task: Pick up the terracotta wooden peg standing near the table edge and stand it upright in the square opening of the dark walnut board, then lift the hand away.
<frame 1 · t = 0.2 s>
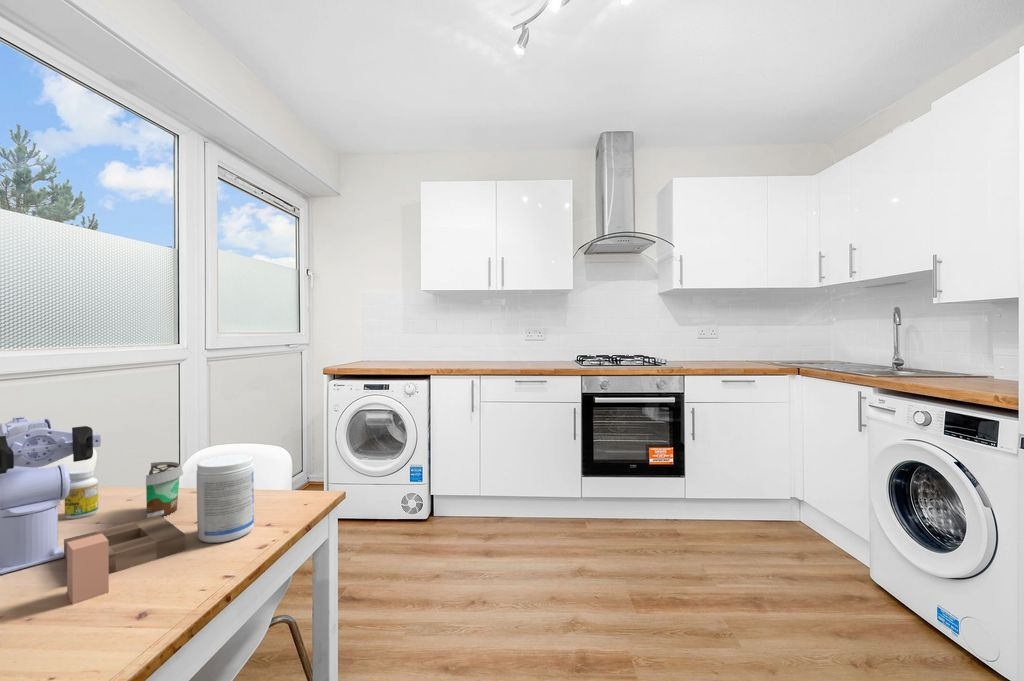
hand: (48, 455, 68), 21 cm above the table, tool horizontal, fingers open, 7 cm apart
walnut stand board: (125, 553, 82), on the table
supplement bottle: (81, 515, 100), on the table
food container: (166, 512, 102), on the table
terracotta peg: (88, 593, 70), on the table
supplement tub: (226, 534, 91), on the table
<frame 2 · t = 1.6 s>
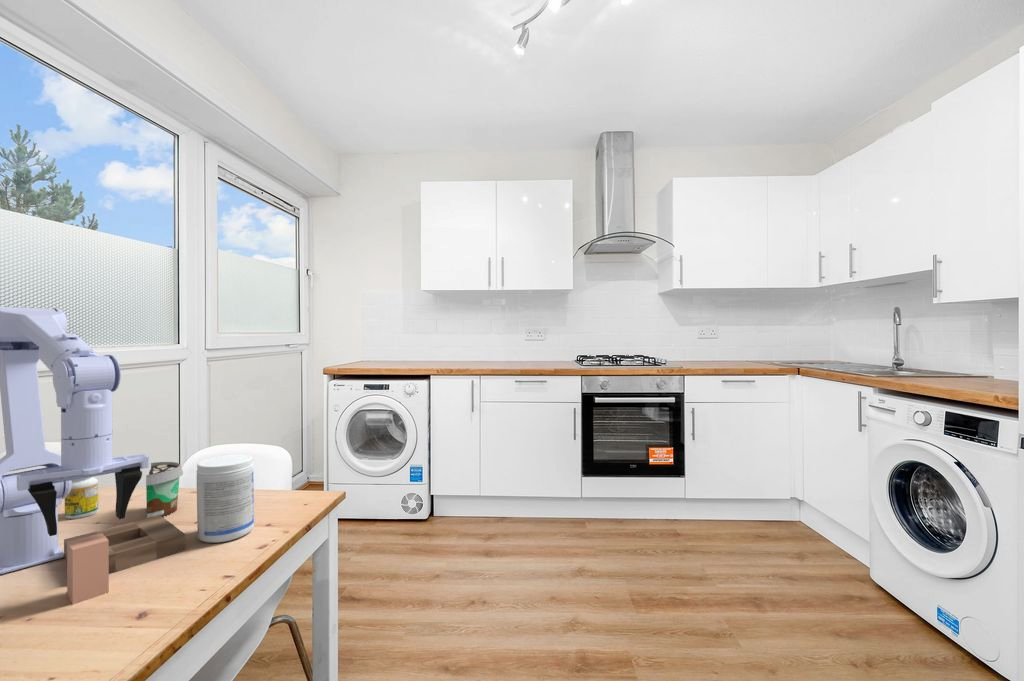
hand: (87, 525, 69), 10 cm above the table, tool pointing down, fingers open, 7 cm apart
nothing on the table moved.
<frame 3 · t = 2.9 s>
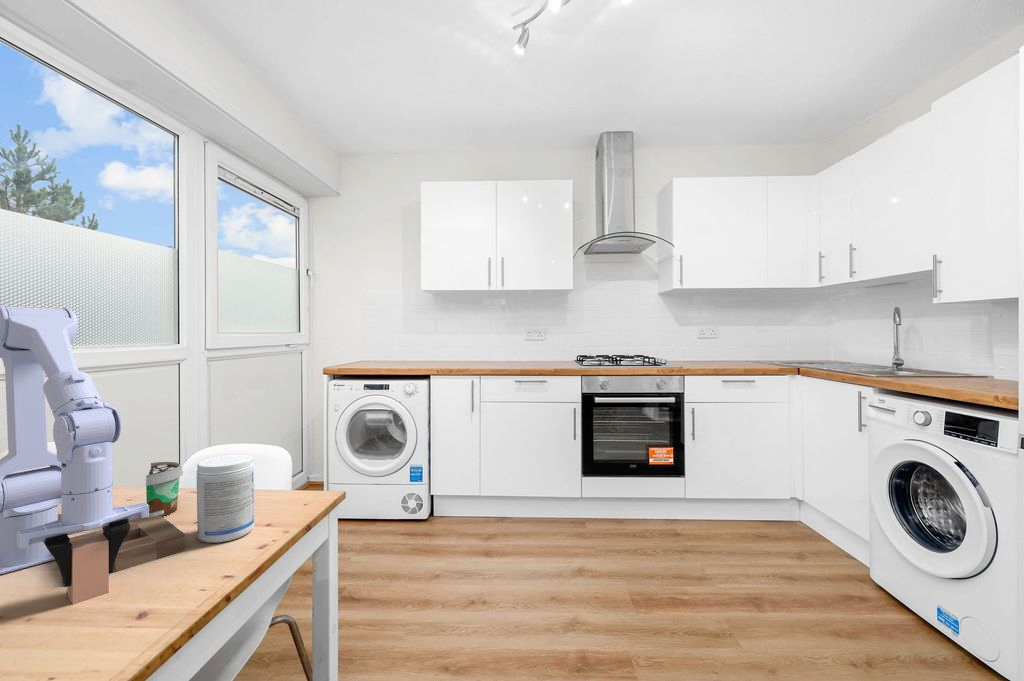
hand: (88, 577, 70), 2 cm above the table, tool pointing down, fingers closed on terracotta peg, 4 cm apart
terracotta peg: (88, 593, 70), on the table, touching gripper
everything else where it was.
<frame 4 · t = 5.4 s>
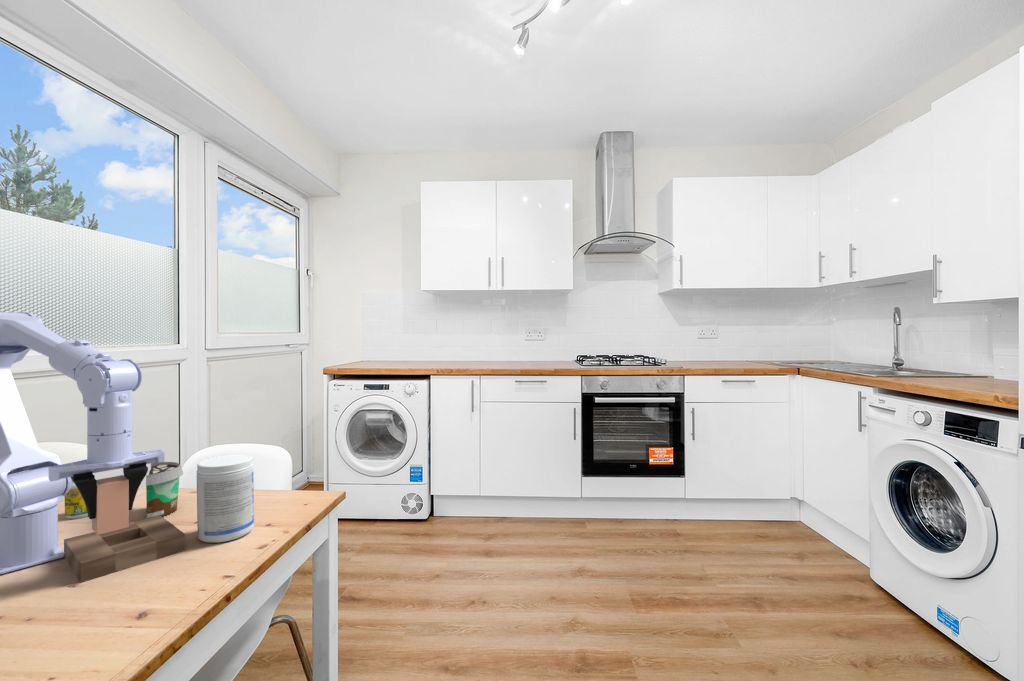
hand: (110, 513, 77), 9 cm above the table, tool pointing down, fingers closed on terracotta peg, 4 cm apart
terracotta peg: (110, 527, 77), point 7 cm above the table, touching gripper
everything else where it was.
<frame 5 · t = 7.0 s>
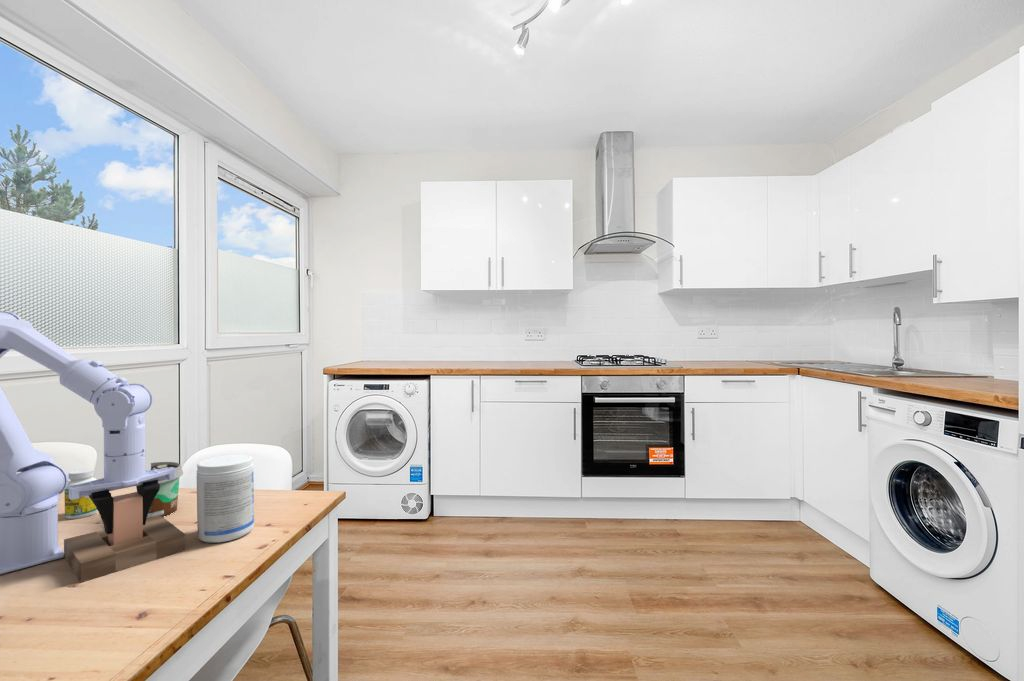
hand: (125, 528, 82), 5 cm above the table, tool pointing down, fingers closed on terracotta peg, 4 cm apart
terracotta peg: (125, 541, 82), point 2 cm above the table, touching gripper
everything else where it was.
when the fingers open (3 cm above the table, at t = 8.1 s): terracotta peg drops 1 cm, resting in walnut stand board.
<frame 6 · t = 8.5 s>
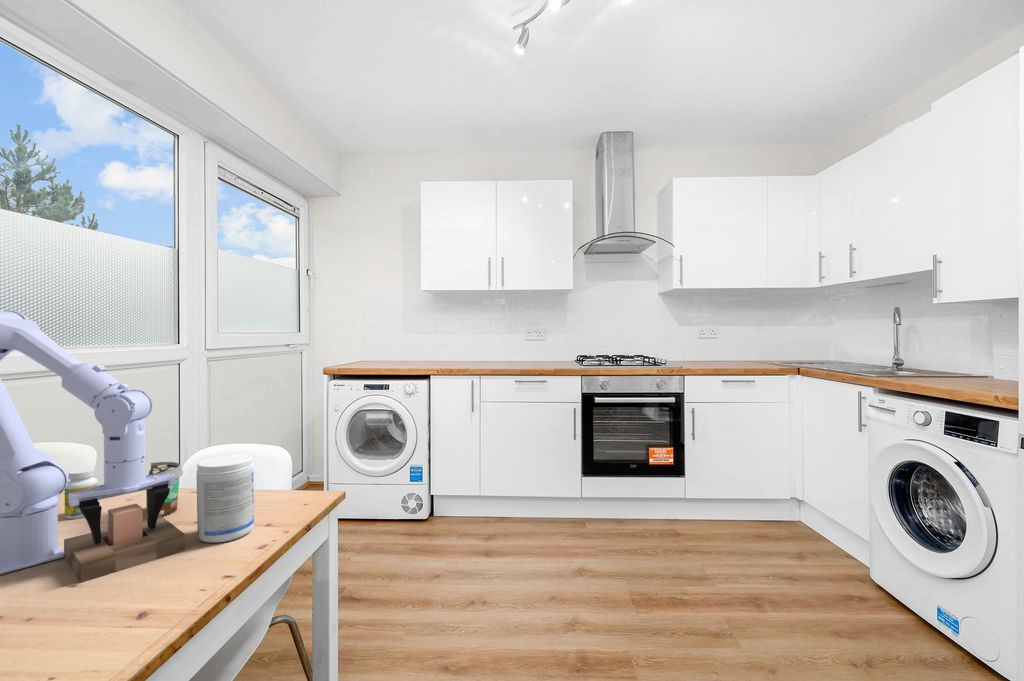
hand: (125, 534, 82), 3 cm above the table, tool pointing down, fingers open, 7 cm apart
terracotta peg: (125, 553, 82), resting in walnut stand board
everything else where it was.
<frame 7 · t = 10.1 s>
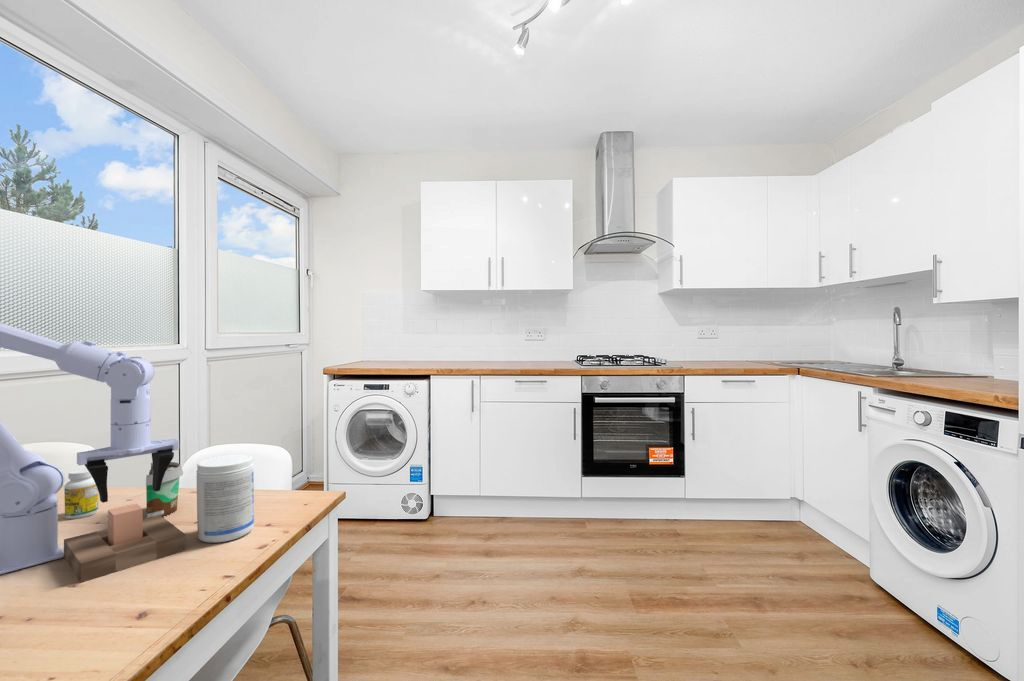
hand: (131, 495, 85), 9 cm above the table, tool pointing down, fingers open, 7 cm apart
nothing on the table moved.
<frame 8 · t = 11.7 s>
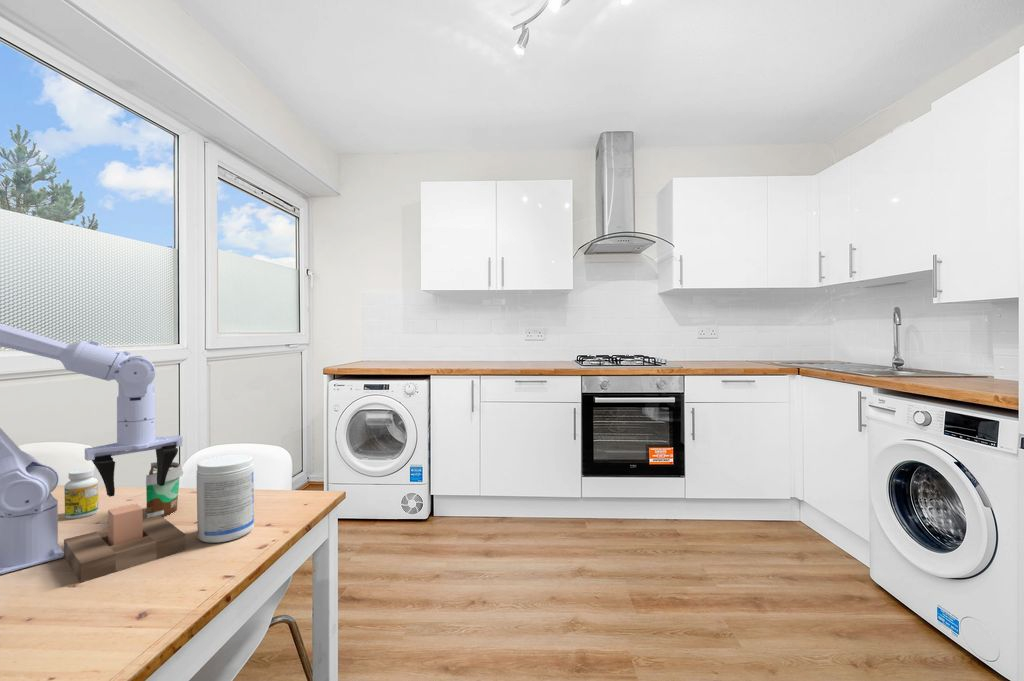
hand: (136, 489, 88), 9 cm above the table, tool pointing down, fingers open, 7 cm apart
nothing on the table moved.
at the end: terracotta peg 0.0 cm off-centre on the walnut stand board, point 0.0 cm above the walnut stand board's base; terracotta peg tilted 0°; the gripper is holding nothing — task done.
